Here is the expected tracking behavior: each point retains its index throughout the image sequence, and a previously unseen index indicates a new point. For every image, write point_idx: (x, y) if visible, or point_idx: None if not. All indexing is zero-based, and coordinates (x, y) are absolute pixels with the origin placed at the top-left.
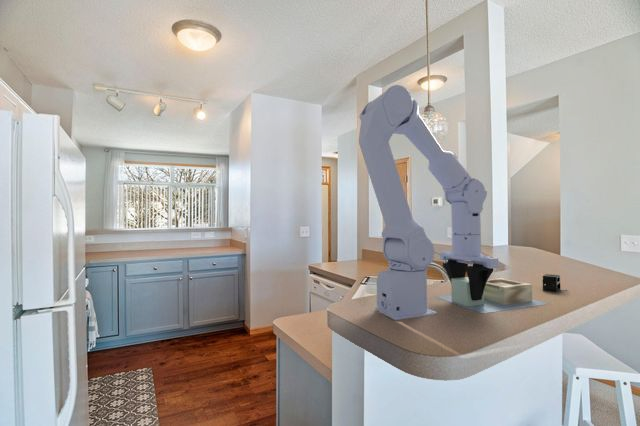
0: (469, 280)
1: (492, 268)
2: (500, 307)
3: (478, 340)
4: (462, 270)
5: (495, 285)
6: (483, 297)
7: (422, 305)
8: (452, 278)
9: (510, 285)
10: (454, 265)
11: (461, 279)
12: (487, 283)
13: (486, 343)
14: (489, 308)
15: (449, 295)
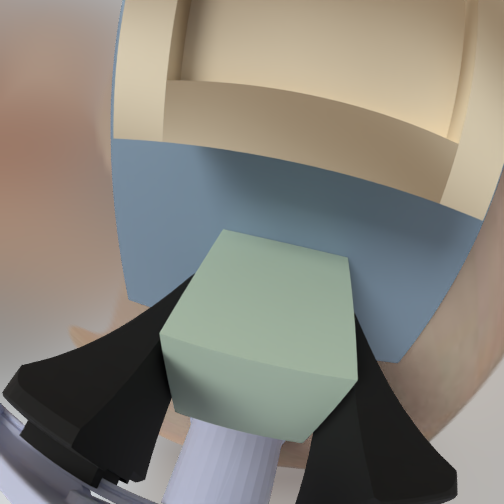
0: (313, 450)
1: (450, 496)
2: (432, 249)
3: (423, 434)
4: (134, 408)
5: (398, 189)
6: (349, 285)
7: (279, 453)
8: (176, 409)
9: (487, 77)
10: (135, 470)
11: (226, 414)
12: (283, 155)
13: (435, 433)
14: (398, 300)
15: (124, 234)
